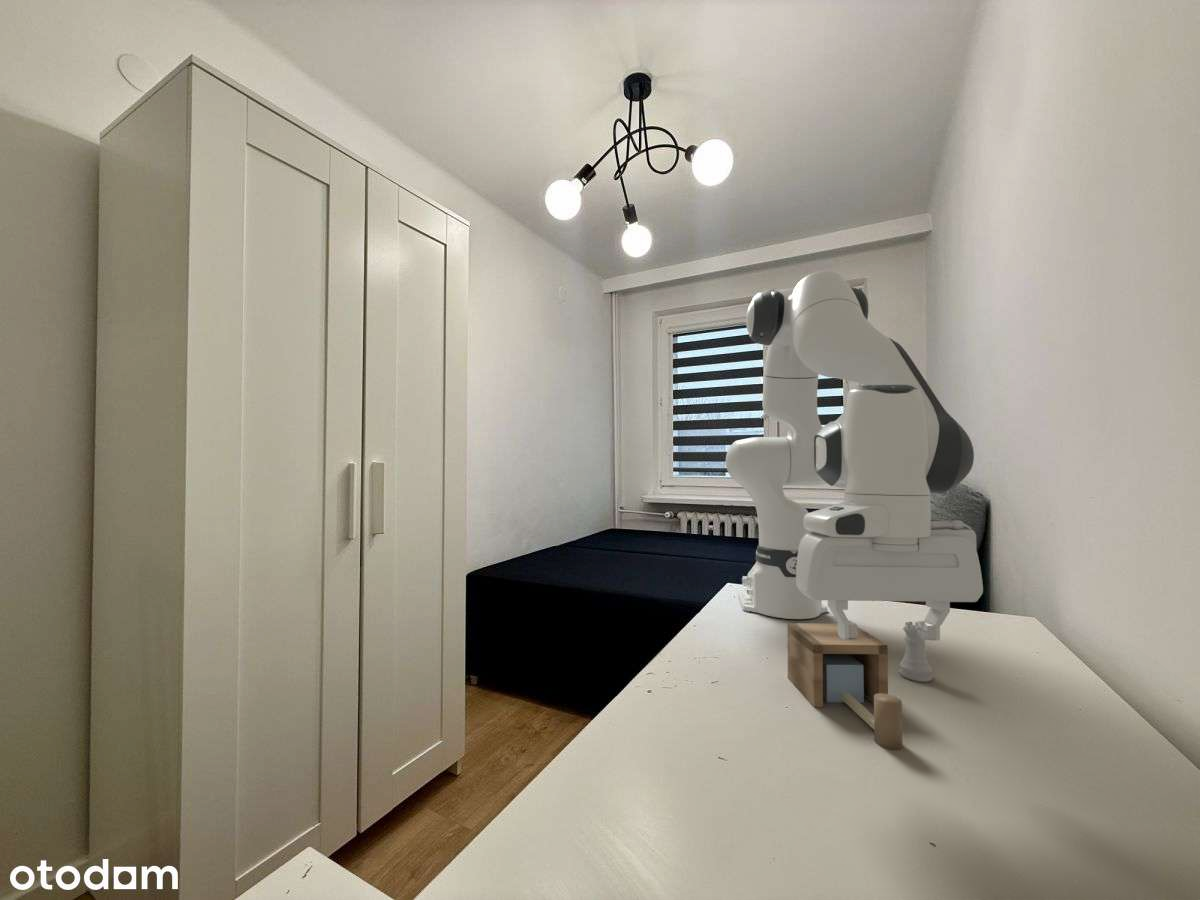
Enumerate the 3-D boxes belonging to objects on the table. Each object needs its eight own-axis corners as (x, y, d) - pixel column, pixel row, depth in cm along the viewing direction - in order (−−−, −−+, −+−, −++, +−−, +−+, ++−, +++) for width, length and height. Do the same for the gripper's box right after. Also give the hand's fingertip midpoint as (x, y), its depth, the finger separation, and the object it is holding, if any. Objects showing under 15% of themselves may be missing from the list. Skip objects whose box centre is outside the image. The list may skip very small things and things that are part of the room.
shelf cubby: (787, 677, 75) (787, 623, 75) (852, 678, 75) (852, 623, 75) (813, 706, 66) (813, 644, 66) (888, 707, 66) (887, 645, 66)
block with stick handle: (811, 686, 72) (811, 651, 73) (845, 686, 72) (845, 651, 73) (873, 749, 56) (872, 704, 56) (917, 749, 56) (916, 704, 56)
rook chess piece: (938, 684, 73) (938, 629, 73) (905, 681, 74) (904, 627, 74) (925, 672, 78) (924, 620, 78) (894, 669, 78) (893, 618, 79)
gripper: (955, 517, 61) (958, 631, 61) (790, 515, 61) (791, 629, 61) (995, 522, 55) (999, 649, 54) (812, 520, 55) (813, 647, 54)
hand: (888, 638), depth 57 cm, fingers open, 8 cm apart
